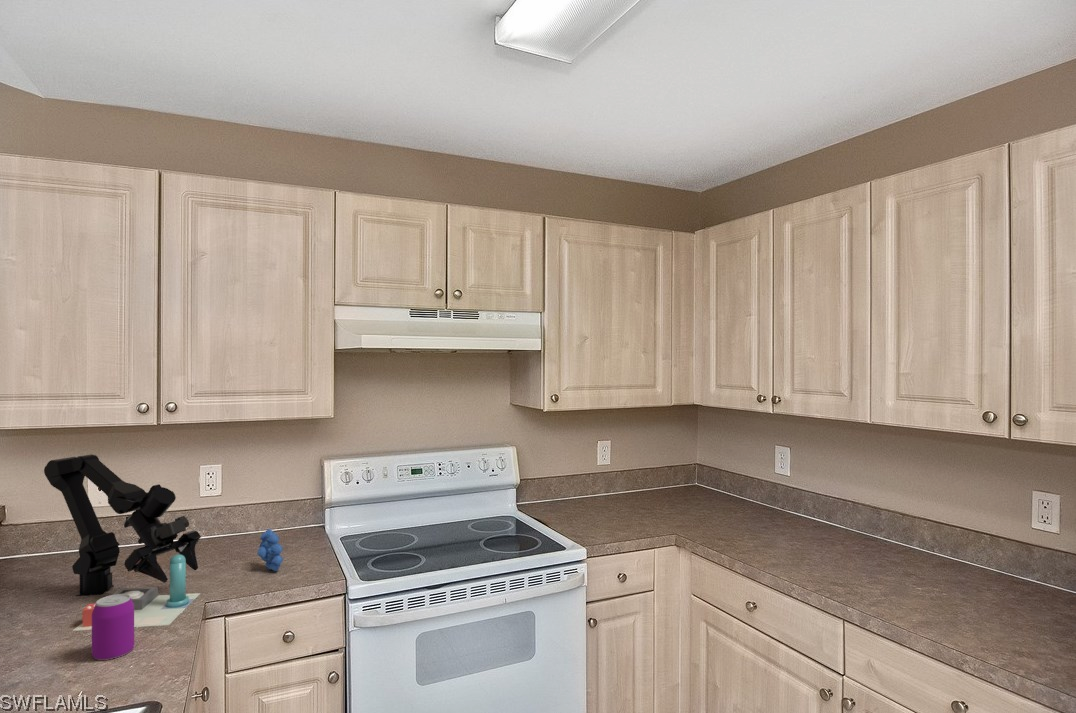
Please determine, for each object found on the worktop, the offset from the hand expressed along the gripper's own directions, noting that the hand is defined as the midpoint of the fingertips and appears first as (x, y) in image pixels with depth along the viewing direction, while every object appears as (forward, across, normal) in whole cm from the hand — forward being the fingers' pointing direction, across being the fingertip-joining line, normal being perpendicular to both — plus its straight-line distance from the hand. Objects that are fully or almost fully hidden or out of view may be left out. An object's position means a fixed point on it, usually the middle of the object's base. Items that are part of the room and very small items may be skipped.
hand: (181, 575), depth 162 cm
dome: (-4, -4, +14) cm, 15 cm away
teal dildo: (+4, 0, +6) cm, 8 cm away
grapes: (+7, +29, +4) cm, 30 cm away
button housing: (-4, -4, +15) cm, 16 cm away
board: (+1, -6, +10) cm, 12 cm away
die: (-2, -15, +13) cm, 20 cm away
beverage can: (+11, -24, 0) cm, 27 cm away
